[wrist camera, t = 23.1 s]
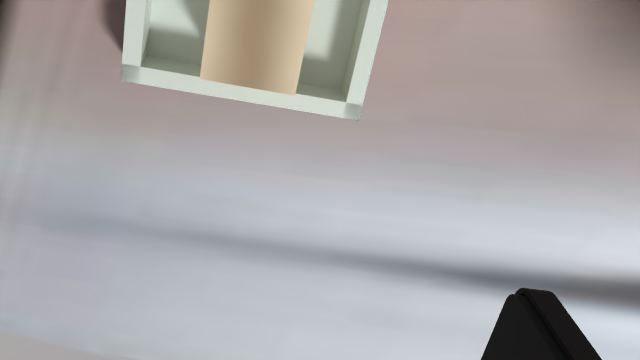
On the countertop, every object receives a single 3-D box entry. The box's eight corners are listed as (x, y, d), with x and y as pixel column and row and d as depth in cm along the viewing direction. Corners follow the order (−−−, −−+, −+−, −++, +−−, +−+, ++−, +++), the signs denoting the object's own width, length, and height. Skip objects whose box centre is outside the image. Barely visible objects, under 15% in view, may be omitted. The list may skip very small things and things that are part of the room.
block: (305, -18, 35) (314, -1, 30) (289, 65, 37) (295, 95, 32) (219, -36, 34) (212, -22, 29) (208, 49, 36) (199, 78, 31)
